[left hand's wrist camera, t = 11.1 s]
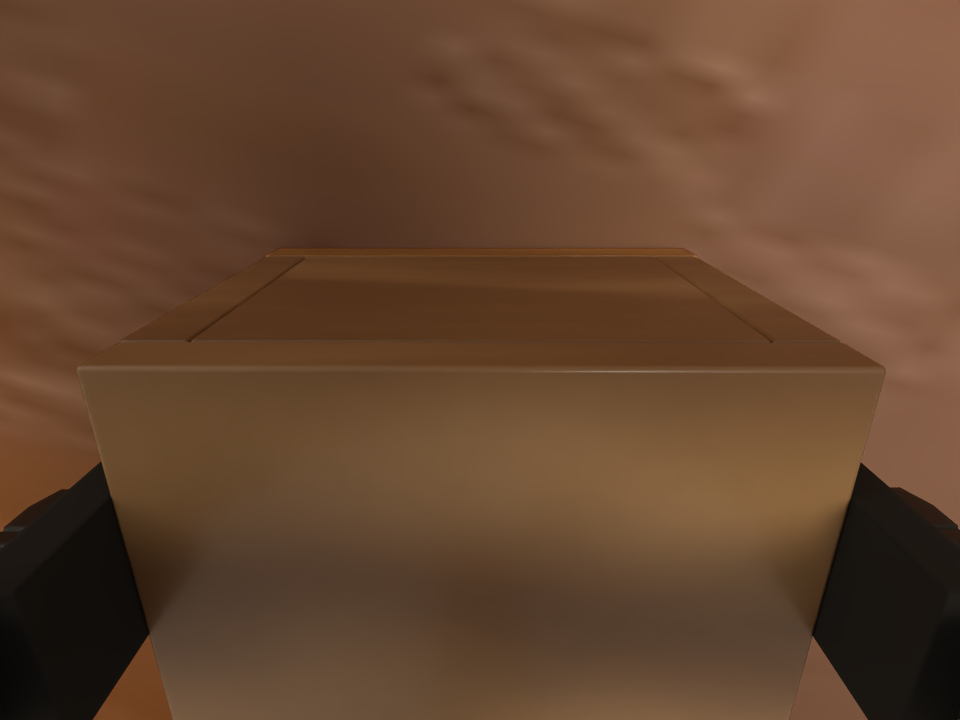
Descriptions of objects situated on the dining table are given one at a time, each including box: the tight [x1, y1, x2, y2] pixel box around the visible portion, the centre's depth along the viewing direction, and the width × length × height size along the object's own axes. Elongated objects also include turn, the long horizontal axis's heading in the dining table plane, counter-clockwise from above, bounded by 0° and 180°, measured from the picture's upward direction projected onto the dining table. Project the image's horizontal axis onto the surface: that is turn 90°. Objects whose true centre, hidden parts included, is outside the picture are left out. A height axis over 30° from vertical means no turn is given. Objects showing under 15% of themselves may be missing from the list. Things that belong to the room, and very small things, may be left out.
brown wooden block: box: [77, 248, 885, 720], centre depth 15 cm, size 20×11×8 cm, turn 0°
